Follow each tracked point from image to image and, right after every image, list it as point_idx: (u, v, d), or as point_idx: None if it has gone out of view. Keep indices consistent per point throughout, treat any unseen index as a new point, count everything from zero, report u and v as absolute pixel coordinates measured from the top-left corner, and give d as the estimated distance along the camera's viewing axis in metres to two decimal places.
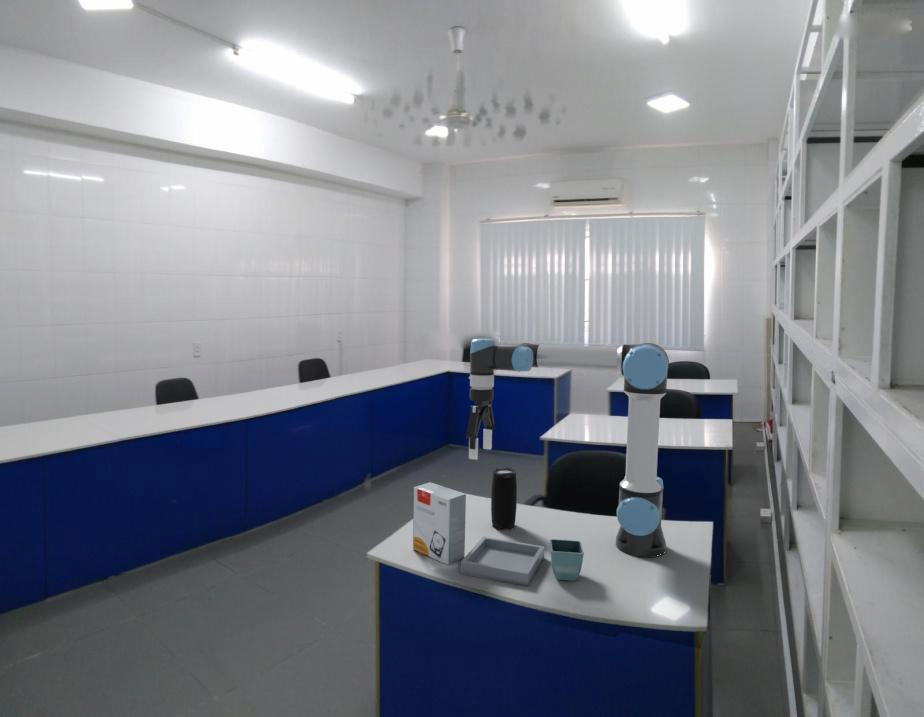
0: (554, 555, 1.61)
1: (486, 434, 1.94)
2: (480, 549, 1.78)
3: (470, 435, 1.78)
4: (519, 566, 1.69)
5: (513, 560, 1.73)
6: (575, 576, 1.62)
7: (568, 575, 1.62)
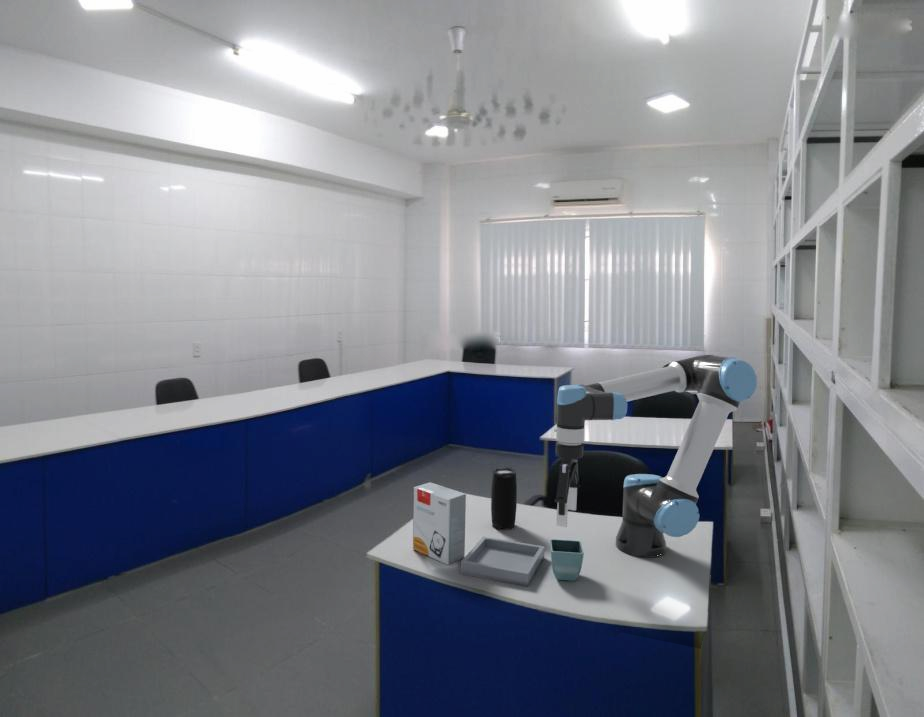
0: (554, 555, 1.61)
1: (570, 493, 1.70)
2: (480, 549, 1.78)
3: (560, 500, 1.54)
4: (519, 566, 1.69)
5: (513, 560, 1.73)
6: (575, 576, 1.62)
7: (568, 575, 1.62)
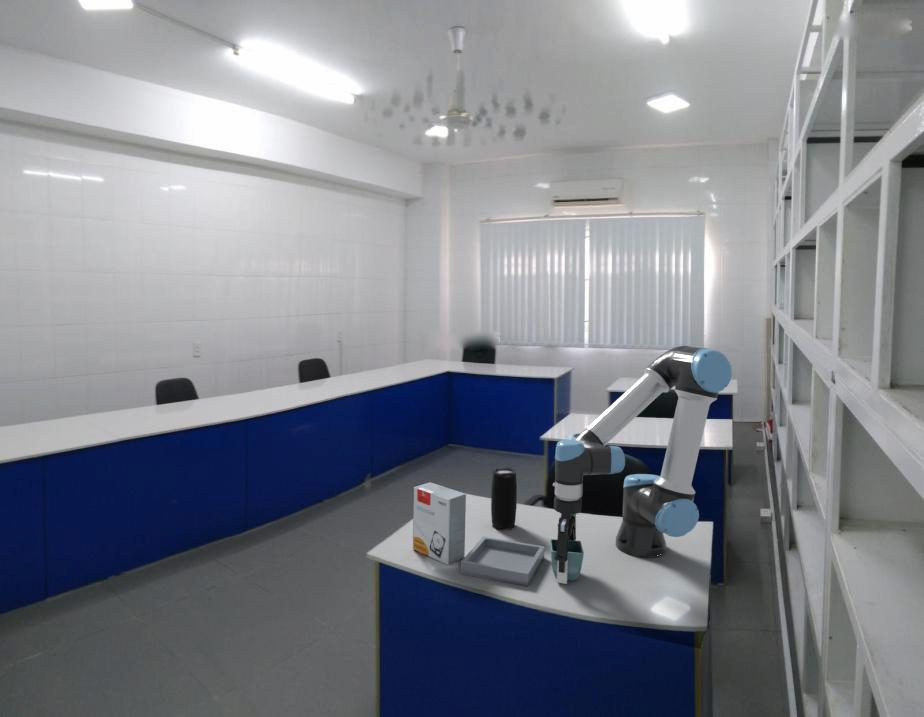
0: (554, 555, 1.61)
1: None
2: (480, 549, 1.78)
3: (560, 558, 1.57)
4: (519, 566, 1.69)
5: (513, 560, 1.73)
6: (575, 576, 1.62)
7: (568, 575, 1.62)
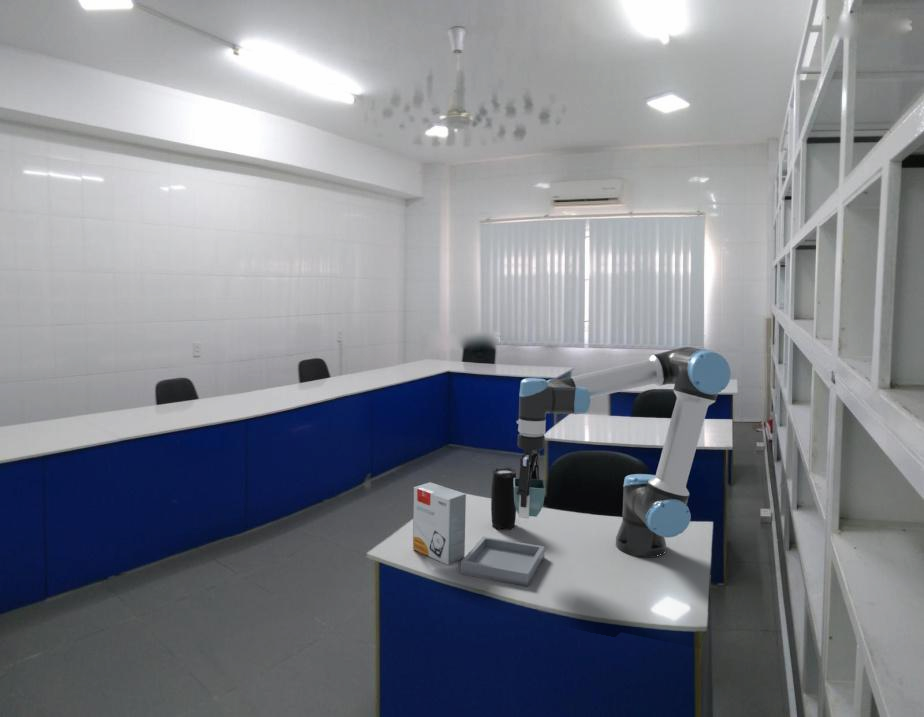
0: (516, 490, 1.63)
1: None
2: (480, 549, 1.78)
3: (522, 492, 1.59)
4: (519, 566, 1.69)
5: (513, 560, 1.73)
6: (537, 512, 1.64)
7: (530, 511, 1.64)
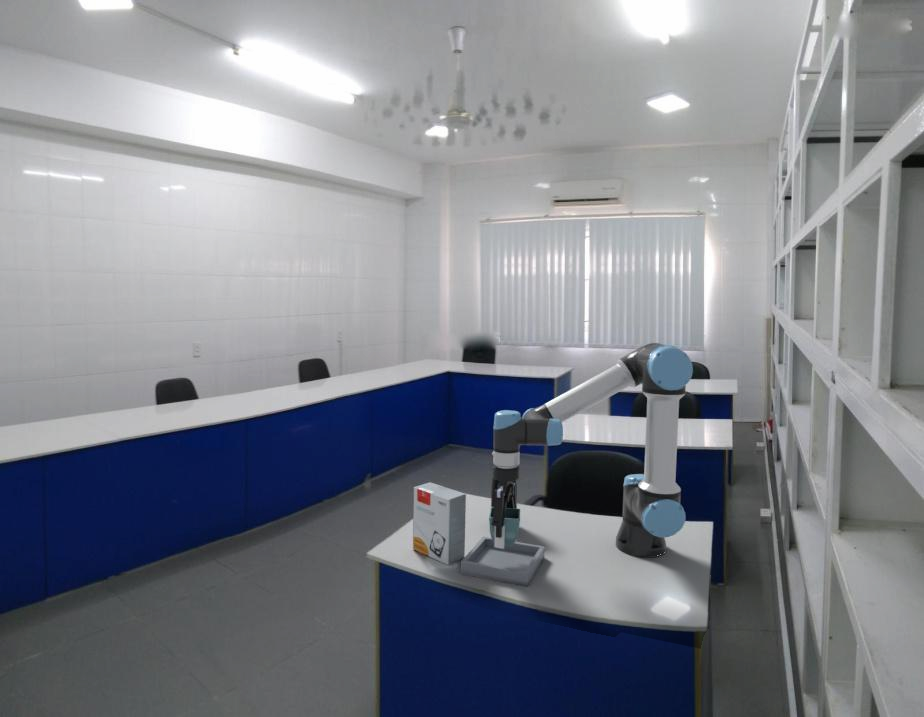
0: (491, 521, 1.67)
1: None
2: (480, 549, 1.78)
3: (496, 523, 1.63)
4: (519, 566, 1.69)
5: (513, 560, 1.73)
6: (512, 541, 1.68)
7: (505, 540, 1.68)
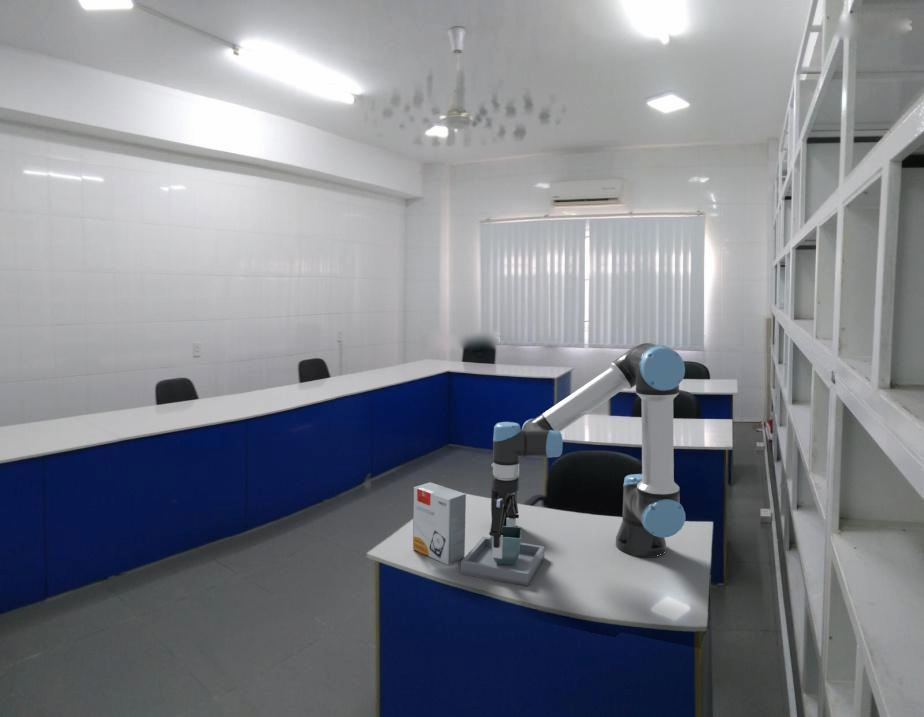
0: None
1: (509, 524, 1.77)
2: (480, 549, 1.78)
3: (494, 533, 1.62)
4: (519, 566, 1.69)
5: None
6: (513, 560, 1.69)
7: (507, 559, 1.69)
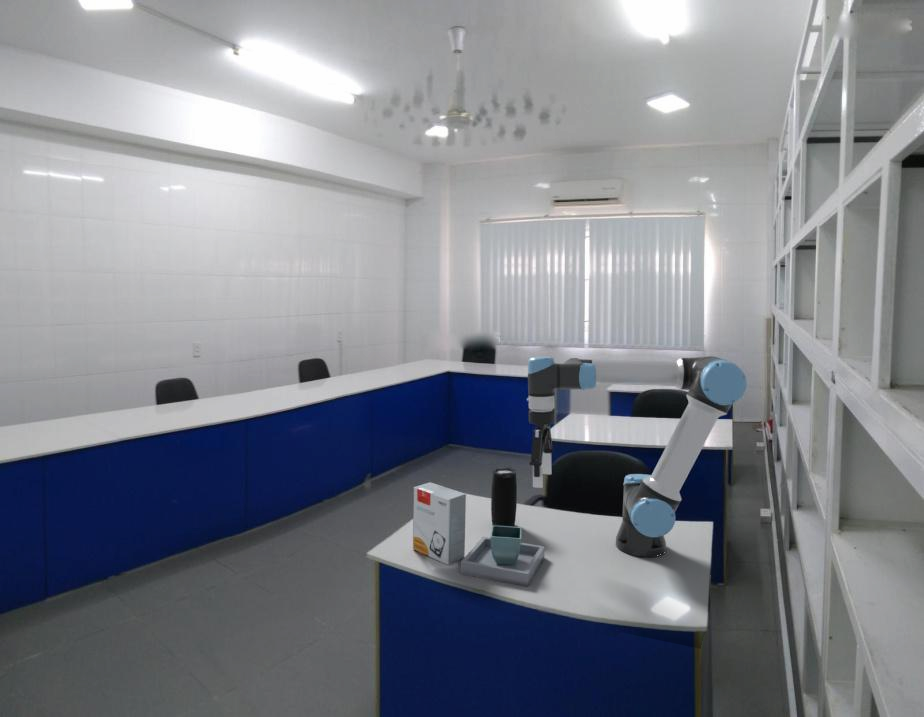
0: (493, 540, 1.68)
1: (545, 458, 1.81)
2: (480, 549, 1.78)
3: (535, 462, 1.65)
4: (519, 566, 1.69)
5: None
6: (513, 560, 1.69)
7: (507, 559, 1.69)
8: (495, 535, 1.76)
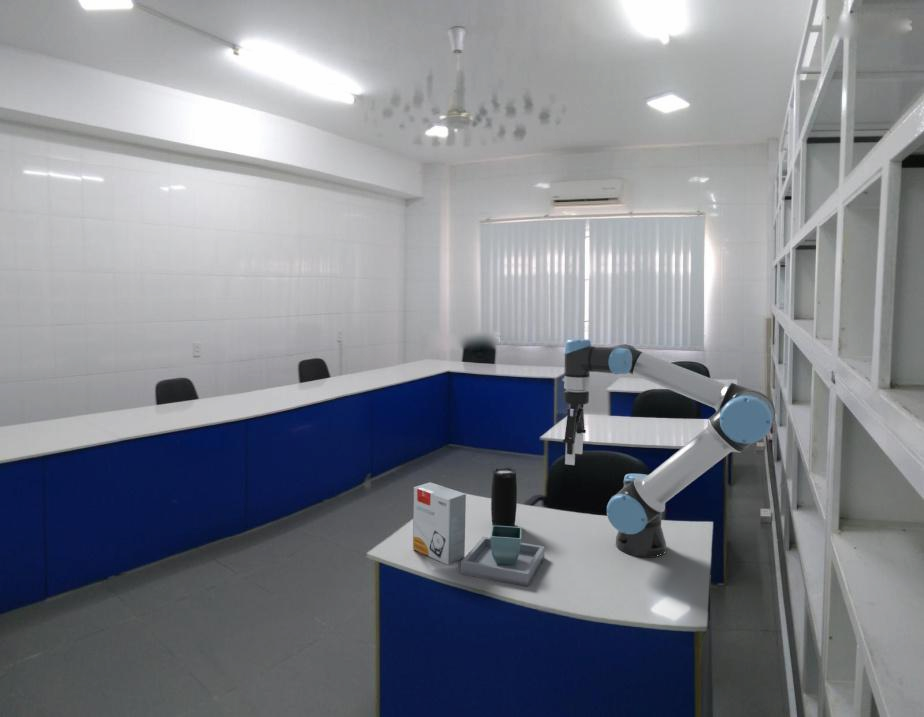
0: (493, 540, 1.68)
1: (577, 438, 1.87)
2: (480, 549, 1.78)
3: (569, 440, 1.71)
4: (519, 566, 1.69)
5: None
6: (513, 560, 1.69)
7: (507, 559, 1.69)
8: (495, 535, 1.76)
